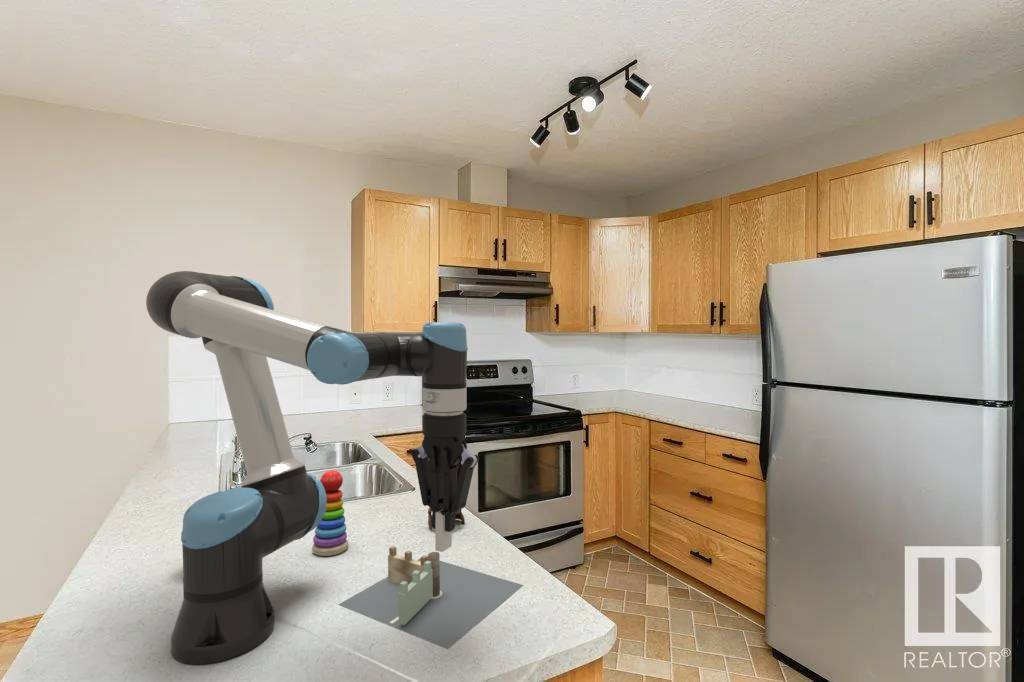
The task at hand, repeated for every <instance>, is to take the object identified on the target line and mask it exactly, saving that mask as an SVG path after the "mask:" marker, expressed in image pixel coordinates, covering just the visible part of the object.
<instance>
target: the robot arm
mask: <svg viewBox="0 0 1024 682" xmlns="http://www.w3.org/2000/svg"><path fill="white" fill-rule="evenodd" d="M145 301H146V311H147V312H148V316H149V317H150V319H151V320H152V322H153V323H154V324H156V326H157V327H159V328H161V329H162V330H164V331H166V332H169V333H171V334H175V335H178V336H181V337H185V338H187V339H200V338H201V340H202V344H203V346H204V348H203V349H204V350H205V351H208V352H210V353H212V354H213V355H215V358H216V362H217V366H218V369H219V373H220V375H221V376H220V377H221V380H222V384H223V389H224V391H225V395H226V399H227V402H228V407H229V410H230V414H231V417H232V421H233V426H234V428H235V432H236V438H237V440H238V444H239V447H240V451H241V455H242V459H243V463H244V466H245V470H246V475H245V477H244V479H242V482H241V483H240V487H235V488H228V489H226V490H224V491H222V490H220V491H217V492H213V493H211V494H208V495H205V496H204V497H202V498H200V499H198V500H196V501H195V502H194V503H192V504H191V505H190V506H189V507H188V508H187V509H186V511H185V512H184V514H183V518H182V530H181V532H180V533H181V535H180V536H181V537H180V539H181V540H180V542H181V544H182V545H181V547H182V578H183V580H182V581H183V582H182V584H183V585H182V587H183V589H182V591H183V597H182V598H183V600H182V603H181V607H180V610H179V613H178V615H177V619H176V621H175V624H174V628H173V631H172V634H171V638H170V639H171V640H170V643H171V645H170V647H171V655H172V657H173V658H174V659H176V660H177V661H178V662H181V663H185V664H189V665H190V664H192V665H203V664H212V663H218V662H221V661H225V660H229V659H232V658H234V657H237V656H240V655H243V654H245V653H247V652H248V651H251V650H252V649H254V648H256V647H257V646H260V644H262V643H263V642H264V641H265V640H266V639H268V638H269V636H270V635H271V634H272V633H273V631H274V628H275V609H274V606H273V605H272V602H271V599H270V597H269V594H268V592H267V590H266V587H265V584H264V582H263V581H264V577H263V575H264V574H263V573H264V572H263V560H264V558H265V557H267V556H269V555H270V554H273V553H274V552H276V551H277V550H279V549H281V548H283V547H286V546H287V545H289V544H291V543H293V542H295V541H298V540H300V539H302V538H304V537H305V536H306V535H308V533H310V532H311V531H313V530H314V529H316V527H317V526H318V524H319V523H320V522H321V520H322V518H323V516H324V514H325V511H326V505H327V498H326V492H325V489H324V487H323V485H322V483H321V482H320V479H317V477H316V476H315V475H314V474H311V473H307V469H306V466H305V463H303V462H302V461H299V460H297V459H296V458H295V457H294V452H293V448H292V446H291V441H290V438H289V434H288V431H287V427H286V423H285V420H284V417H283V413H282V409H281V405H280V402H279V398H278V395H277V391H276V388H275V384H274V380H273V376H272V373H271V369H270V365H269V362H268V358H269V359H273V360H277V361H279V362H282V363H286V364H289V365H290V366H291V365H292V366H294V367H298V368H300V369H304V370H307V371H310V372H311V374H312V375H313V376H314V377H315V379H316V380H317V381H319V382H321V383H323V384H326V385H342V386H343V385H349V384H352V383H356V382H361V381H366V380H373V379H374V380H375V379H380V378H387V377H396V376H399V377H418V378H419V377H422V378H421V380H422V410H423V411H424V413H423V414H422V417H421V419H422V420H421V421H422V423H421V429H422V430H421V432H422V435H423V439H422V442H421V445H420V446H419V447H417V448H413V449H411V450H410V456H411V457H412V460H413V461H414V463H415V469H416V475H417V481H418V487H419V492H420V497H421V503H422V505H423V506H425V507H430V508H431V510H432V512H431V515H432V526H433V527H432V529H434V530H435V536H434V538H435V541H434V542H435V544H434V545H435V548H434V549H435V552H439V553H440V552H442V553H443V552H445V551H447V550H448V549H449V548H450V549H451V547H452V544H453V543H452V542H453V541H452V539H453V538H452V535H453V533H452V532H453V530H455V529H456V522H455V521H456V519H455V512H457V511H459V510H460V509H461V510H462V509H464V508H465V507H466V505H467V503H468V502H467V500H468V496H469V493H470V488H471V483H472V478H473V474H474V469H475V467H476V466H477V464H478V462H479V460H480V456H479V454H472V452H470V451H469V450H468V444H467V442H466V435H467V434H466V433H467V414H466V413H465V412H464V411H466V410H467V406H468V405H467V368H468V367H467V365H468V364H467V363H468V359H467V358H468V350H469V348H468V341H467V339H468V338H467V328H466V326H465V325H464V324H463V323H461V322H449V321H448V322H447V321H446V322H443V321H442V322H440V321H438V322H437V321H436V322H433V321H432V322H425V323H424V324H423V325H422V331H421V332H420V333H418V332H417V333H402V332H400V333H399V332H384V331H382V332H374V333H373V332H372V333H370V332H369V333H368V332H367V333H365V332H363V333H361V332H357V333H356V332H350V331H347V330H343V329H339V328H336V327H333V326H329V325H327V324H323V323H320V322H319V323H318V322H316V321H313V320H309V319H306V318H302V317H299V316H295V315H291V314H287V313H284V312H283V311H278V310H275V307H274V303H273V302H274V301H273V299H272V296H271V295H270V294H269V292H268V290H267V289H266V288H265V287H264V286H263V285H262V284H260V283H258V282H257V281H255V280H252V279H249V278H245V277H242V276H237V275H221V274H220V275H219V274H213V273H204V272H198V271H191V270H181V271H180V270H179V271H175V272H170V273H167V274H164V276H161V277H160V278H158V279H157V280H156V281H155V282H154V283H153V284H152V285H151V286H150V288H149V289H148V292H147V294H146V300H145ZM460 460H461V461H460ZM459 463H460V465H461V467H460V465H459ZM459 468H460V469H459ZM458 471H459V473H458Z"/></svg>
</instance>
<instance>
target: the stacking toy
mask: <svg viewBox="0 0 1024 682" xmlns="http://www.w3.org/2000/svg"><path fill="white" fill-rule="evenodd" d="M319 480H320V482H321V483H322V485H323V487H324V489H325V492H326V498H327V505H326V511H325V514H324V516H323V518H322V520H321V522H320V523H319V524H318V526H317V527H316V528H314V529H315V530H314V536H313V538H312V542H313V545H312V549H311V550H312V552H313V553H314V554H315V555H317V556H320V557H321V556H323V557H330V556H336V555H339V554H341V553H343V552H346V550H347V548H348V547H349V542H348V541H349V540H347V538H348V534H347V532H346V531H347V525H346V523H345V522H346V517H345V516H344V515H345V508H344V507H343V506H344V501H343V499H342V498H343V492H342V490H340V488H341V487H342V485H343V481H344V479H343V475H342V473H341V472H339V471H337V470H334V469H333V470H332V469H331V470H328V471H326V472H324V473H323V474H322V475H321V477H320V478H319Z"/></svg>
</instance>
